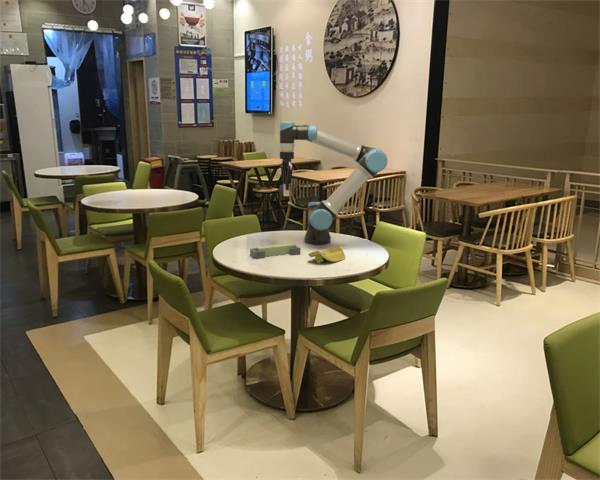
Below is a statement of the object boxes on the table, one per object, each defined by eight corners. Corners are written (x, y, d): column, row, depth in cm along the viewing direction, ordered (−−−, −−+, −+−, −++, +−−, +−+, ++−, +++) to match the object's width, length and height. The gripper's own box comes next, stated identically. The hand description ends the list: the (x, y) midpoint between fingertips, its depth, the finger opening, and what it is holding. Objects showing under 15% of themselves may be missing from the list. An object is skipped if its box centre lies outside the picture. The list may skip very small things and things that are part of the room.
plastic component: (327, 250, 269) (342, 245, 263) (331, 264, 268) (346, 258, 262) (304, 255, 253) (319, 249, 247) (308, 269, 253) (324, 264, 247)
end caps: (294, 251, 275) (295, 244, 274) (300, 254, 269) (300, 248, 268) (250, 255, 265) (250, 248, 265) (254, 258, 259) (254, 252, 258)
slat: (258, 258, 261) (258, 248, 260) (256, 256, 264) (256, 247, 263) (294, 254, 270) (294, 244, 269) (291, 252, 273) (291, 243, 272)
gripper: (298, 152, 266) (297, 197, 272) (288, 150, 278) (288, 193, 283) (284, 152, 263) (284, 198, 269) (275, 150, 275) (275, 194, 281)
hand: (286, 195), depth 276 cm, fingers closed
